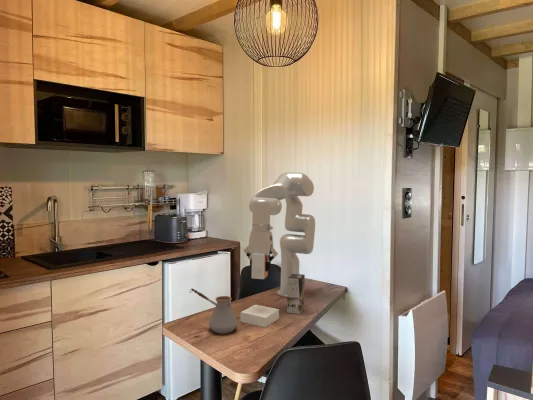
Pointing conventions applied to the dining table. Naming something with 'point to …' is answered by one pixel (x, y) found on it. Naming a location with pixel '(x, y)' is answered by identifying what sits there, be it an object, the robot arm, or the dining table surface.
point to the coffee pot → (221, 314)
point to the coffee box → (295, 293)
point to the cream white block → (259, 315)
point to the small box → (258, 266)
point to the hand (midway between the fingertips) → (260, 269)
